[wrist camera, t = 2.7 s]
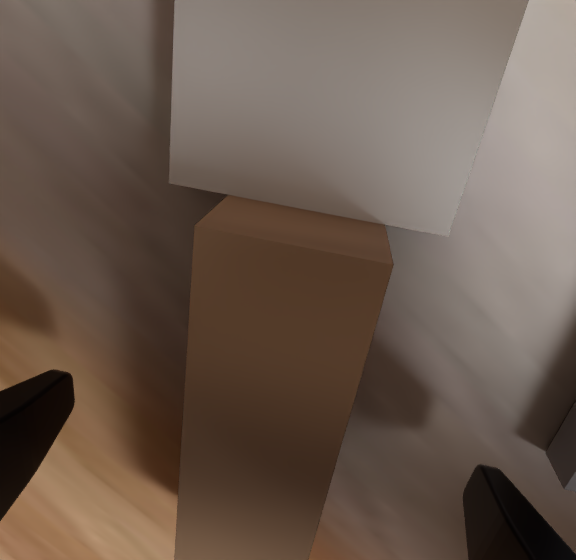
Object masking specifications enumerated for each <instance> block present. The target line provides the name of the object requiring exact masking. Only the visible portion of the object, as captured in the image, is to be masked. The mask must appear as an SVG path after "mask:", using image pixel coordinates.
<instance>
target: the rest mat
mask: <svg viewBox="0 0 576 560" xmlns="http://www.w3.org/2000/svg"><path fill="white" fill-rule="evenodd" d="M546 455H547V457H548V459H549V461H550V463H551V465H552V467H553V468H554V470H555V472H556V474H557V476H558V478H559V480H560V482H561V484H562V486H563V488H564V489H565V490H570V491H574V492H576V401H575V403H574V405H573V406H572V408H571V410H570V412H569V413H568V415H567V417H566V418H565V420H564V422H563V424H562V425H561V427H560V429H559V430H558V432H557V434H556V435H555V437H554V439H553V441H552V442H551V444H550V446H549V447H548V449H547V451H546Z"/></svg>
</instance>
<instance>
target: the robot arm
mask: <svg viewBox="0 0 576 560" xmlns="http://www.w3.org/2000/svg"><path fill="white" fill-rule="evenodd" d="M74 402H75V398H74V387H73V378H72V375H71V374H70V373H68V372H64V371H60V370H49V371H47V372H44V373H42V374H40V375H37V376H35V377H33V378H30V379H28V380H26V381H23V382H21V383H19V384H16V385H14V386H11V387H9V388H7V389H4V390H2V391H0V521H1V520H2V518H3V517H4V515H5V514H6V513H7V511H8V510H9V509H10V507H11V506H12V505H13V503H14V502H15V500H16V499H17V498H18V496H19V495H20V494H21V492H22V491H23V489H24V488H25V487H26V485H27V484H28V483H29V481H30V480H31V478H32V477H33V475H34V474H35V472H36V471H37V469H38V468H39V466H40V464H41V463H42V461H43V459H44V458H45V456H46V454H47V453H48V451H49V449H50V448H51V446H52V444H53V442H54V441H55V439H56V437H57V436H58V434H59V432H60V431H61V429H62V427H63V425H64V424H65V422H66V420H67V419H68V417H69V415H70V414H71V412H72V410H73V407H74ZM463 507H464V517H465V527H466V538H467V548H468V559H469V560H576V554H575V553H574V552H573V551H572V550H571V549H570V547H569V546H568V545H567V544H566V543H565V542H564V541H563V540H562V538H561V537H560V536H559V535H558V534H557V533H556V532H555V531H554V529H553V528H552V527H551V526H550V525H549V524H548V523H547V522H546V520H545V519H544V518H543V517H542V516H541V515H540V514H539V513H538V512H537V510H536V509H535V508H534V507H533V506H532V505H531V504H530V503H529V501H528V500H527V499H526V498H525V497H524V496H523V495H522V494H521V492H520V491H519V490H518V489H517V488H516V487H515V486H514V485H513V483H512V482H511V481H510V480H509V479H508V478H507V477H506V476H505V474H504V473H503V472H502V471H501V470H500V469H498V468H496V467H491V466H487V465H482V464H479V465H477V466H476V467H475V469H474V471H473V473H472V475H471V477H470V479H469V481H468V483H467V485H466V487H465V490H464V493H463Z"/></svg>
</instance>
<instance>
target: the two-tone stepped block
mask: <svg viewBox="0 0 576 560" xmlns="http://www.w3.org/2000/svg"><path fill="white" fill-rule="evenodd" d="M528 1H529V0H175V2H174V34H173V66H172V98H171V130H170V162H169V184H175V185H180V186H185V187H190V188H196V189H201V190H206V191H211V192H216V193H222V194H227V195H228V196H227V197H225V198H224V199H223V200H222V201H221V202H220V203H219V204H218V205H217V206H216V207H214V208H213V209H212V210H211V211H210V212H209V213H208V214H207V215H206V216H204V217H203V218H202V219H201V220H200V221H199V222H198V223H197V224H196V225H195V226H194V241H193V258H192V274H191V291H190V307H189V324H188V340H187V357H186V374H185V390H184V407H183V423H182V440H181V456H180V473H179V489H178V506H177V523H176V539H175V556H174V560H308V559H309V555H310V552H311V548H312V545H313V542H314V538H315V535H316V531H317V528H318V524H319V521H320V517H321V514H322V510H323V507H324V503H325V500H326V497H327V493H328V490H329V486H330V483H331V479H332V476H333V472H334V469H335V465H336V462H337V458H338V455H339V452H340V448H341V445H342V441H343V438H344V434H345V431H346V427H347V424H348V420H349V417H350V414H351V410H352V407H353V403H354V400H355V396H356V393H357V389H358V386H359V382H360V379H361V375H362V372H363V369H364V365H365V362H366V358H367V355H368V351H369V348H370V344H371V341H372V337H373V334H374V331H375V327H376V324H377V320H378V317H379V313H380V310H381V306H382V303H383V299H384V296H385V292H386V289H387V286H388V282H389V279H390V275H391V272H392V268H393V260H392V256H391V251H390V246H389V242H388V237H387V232H386V228H385V225H389V226H394V227H399V228H404V229H410V230H415V231H420V232H425V233H430V234H436V235H441V236H446V237H448V236H449V233H450V230H451V227H452V224H453V221H454V218H455V215H456V212H457V210H458V207H459V204H460V201H461V198H462V195H463V192H464V189H465V186H466V183H467V180H468V177H469V174H470V171H471V168H472V165H473V163H474V160H475V157H476V154H477V151H478V148H479V145H480V142H481V139H482V136H483V133H484V130H485V127H486V124H487V121H488V118H489V116H490V113H491V110H492V107H493V104H494V101H495V98H496V95H497V92H498V89H499V86H500V83H501V80H502V77H503V74H504V71H505V69H506V66H507V63H508V60H509V57H510V54H511V51H512V48H513V45H514V42H515V39H516V36H517V33H518V30H519V27H520V24H521V22H522V19H523V16H524V13H525V10H526V7H527V4H528Z"/></svg>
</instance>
